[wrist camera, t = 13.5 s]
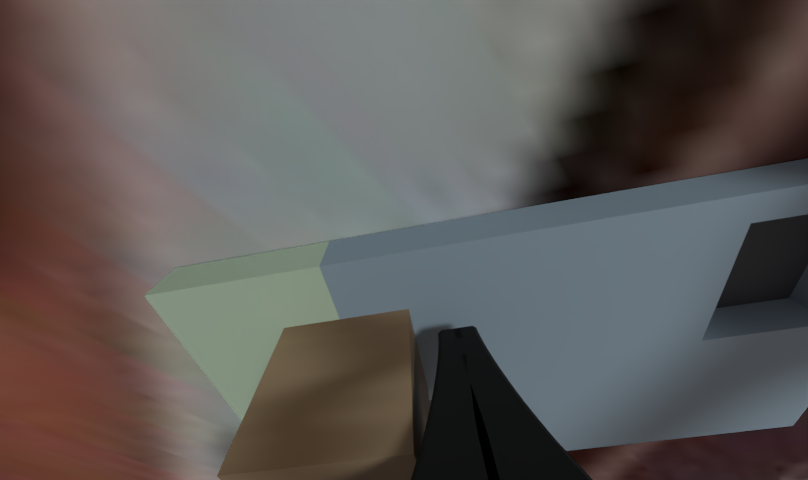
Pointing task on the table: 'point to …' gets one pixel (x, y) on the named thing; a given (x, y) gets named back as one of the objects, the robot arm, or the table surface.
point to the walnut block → (336, 404)
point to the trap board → (557, 304)
